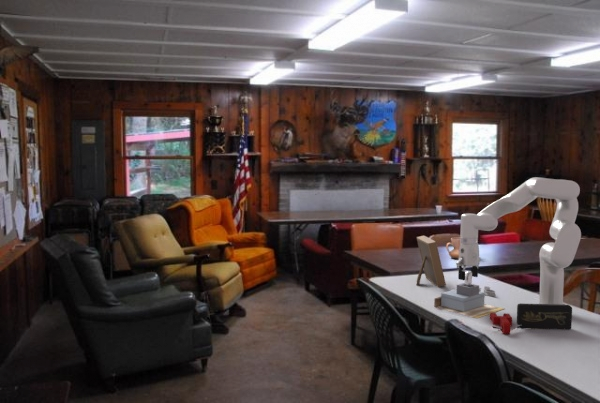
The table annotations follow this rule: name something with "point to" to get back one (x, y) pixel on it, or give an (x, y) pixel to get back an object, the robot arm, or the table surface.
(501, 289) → the table surface
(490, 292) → the pulley system
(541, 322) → the nameplate
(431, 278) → the photo frame
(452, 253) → the ceramic jug
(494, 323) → the red block assembly
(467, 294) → the square socket plate
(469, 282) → the handle peg
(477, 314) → the bay
